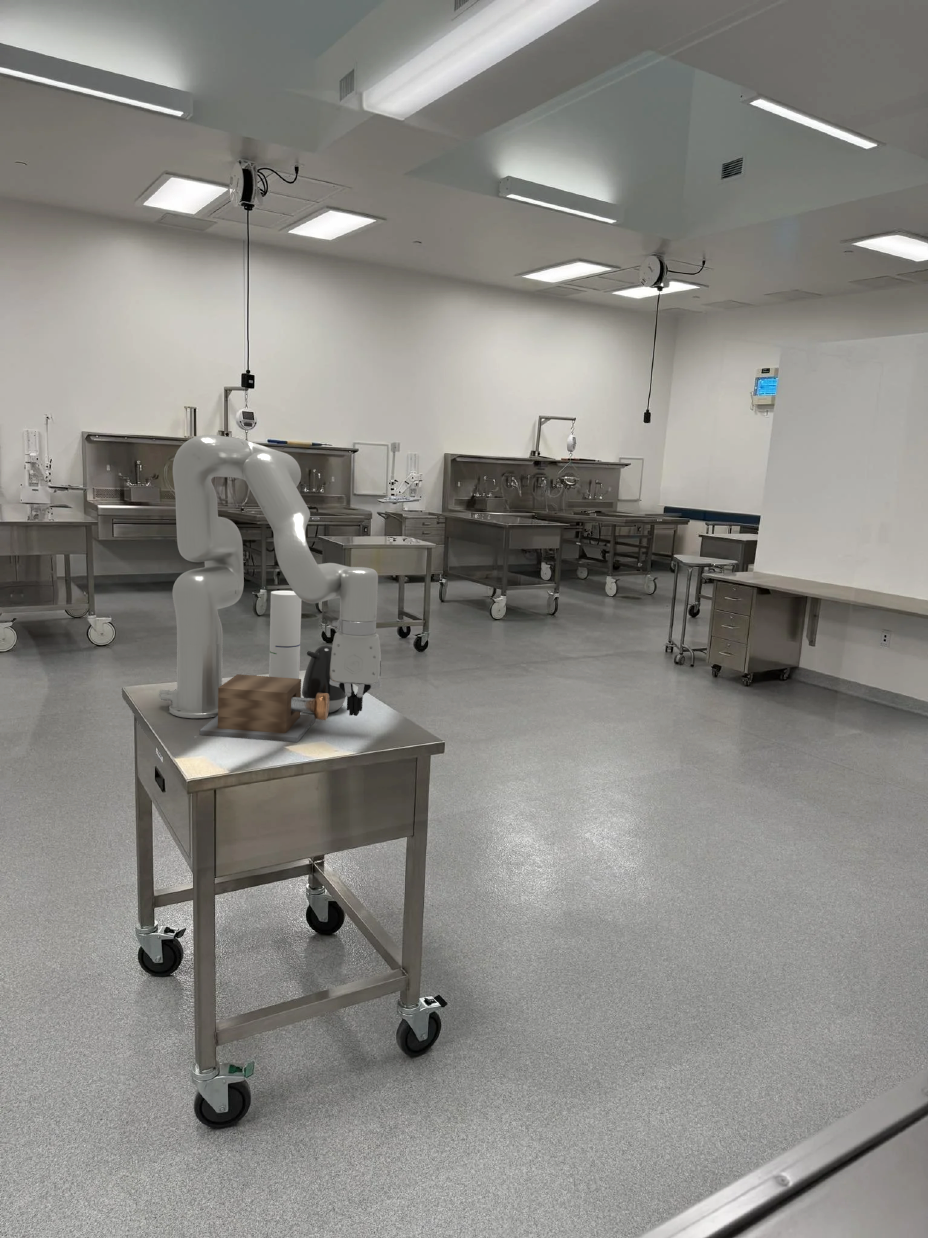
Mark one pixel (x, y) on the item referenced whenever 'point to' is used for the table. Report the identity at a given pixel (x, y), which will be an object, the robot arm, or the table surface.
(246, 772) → the table surface
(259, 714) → the block
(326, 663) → the black rounded figure
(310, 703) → the shaft
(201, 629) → the robot arm
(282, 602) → the cylindrical container
